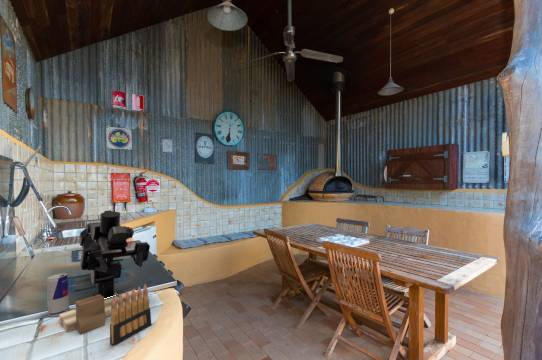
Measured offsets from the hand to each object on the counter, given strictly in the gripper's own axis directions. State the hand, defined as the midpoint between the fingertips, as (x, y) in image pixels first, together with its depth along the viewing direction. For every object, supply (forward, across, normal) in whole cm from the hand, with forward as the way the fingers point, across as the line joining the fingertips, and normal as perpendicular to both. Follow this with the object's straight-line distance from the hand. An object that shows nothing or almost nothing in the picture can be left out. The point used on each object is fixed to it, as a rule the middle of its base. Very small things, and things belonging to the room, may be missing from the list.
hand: (125, 267), depth 77 cm
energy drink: (-17, -12, +23) cm, 31 cm away
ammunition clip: (+12, 0, +13) cm, 18 cm away
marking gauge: (-4, -7, +19) cm, 20 cm away
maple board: (-7, -1, +19) cm, 20 cm away
